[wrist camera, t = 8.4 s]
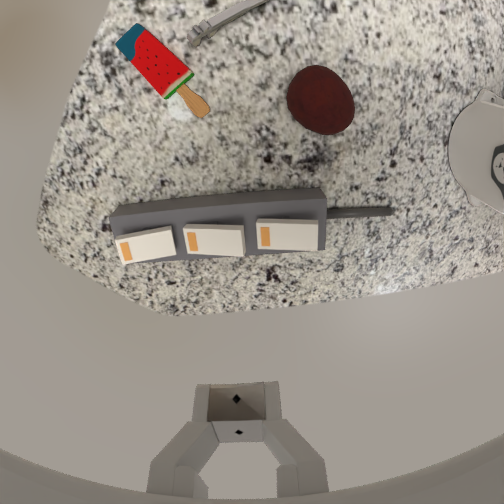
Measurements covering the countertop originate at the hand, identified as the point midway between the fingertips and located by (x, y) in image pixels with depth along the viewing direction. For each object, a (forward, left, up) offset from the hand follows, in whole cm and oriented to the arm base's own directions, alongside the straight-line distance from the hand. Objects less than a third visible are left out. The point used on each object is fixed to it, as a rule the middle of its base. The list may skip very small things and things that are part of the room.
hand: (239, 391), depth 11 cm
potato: (-9, -8, -31) cm, 34 cm away
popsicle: (+8, -13, -32) cm, 35 cm away
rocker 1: (+12, +7, -25) cm, 29 cm away
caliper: (-4, -21, -32) cm, 38 cm away
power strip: (-1, +7, -31) cm, 32 cm away
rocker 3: (-5, +7, -25) cm, 27 cm away
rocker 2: (+4, +7, -25) cm, 27 cm away
